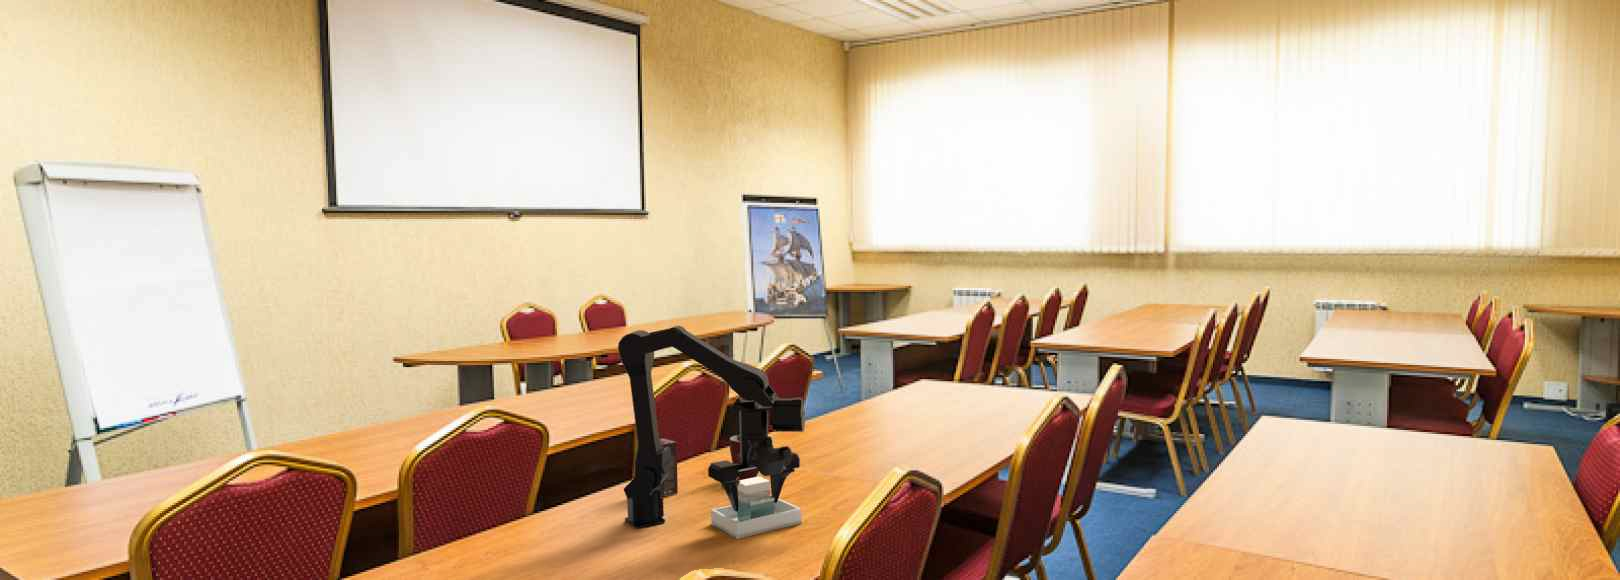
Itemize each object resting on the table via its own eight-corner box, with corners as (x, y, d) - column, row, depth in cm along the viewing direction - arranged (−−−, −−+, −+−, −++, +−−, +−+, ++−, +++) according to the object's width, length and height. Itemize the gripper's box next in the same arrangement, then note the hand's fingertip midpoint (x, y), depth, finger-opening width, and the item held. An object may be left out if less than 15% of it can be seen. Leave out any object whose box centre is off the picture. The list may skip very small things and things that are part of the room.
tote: (737, 538, 172) (736, 523, 172) (711, 523, 181) (710, 509, 181) (801, 523, 180) (801, 508, 180) (773, 509, 189) (773, 496, 189)
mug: (756, 487, 207) (755, 444, 206) (723, 485, 208) (722, 444, 207) (767, 474, 217) (766, 434, 216) (735, 473, 218) (734, 433, 218)
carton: (746, 508, 191) (745, 485, 191) (736, 503, 195) (735, 481, 195) (770, 503, 194) (769, 480, 194) (760, 498, 198) (759, 476, 198)
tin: (736, 519, 181) (736, 495, 181) (760, 514, 185) (760, 490, 184) (750, 527, 177) (750, 502, 176) (775, 521, 180) (774, 497, 180)
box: (679, 493, 203) (677, 441, 202) (662, 497, 200) (660, 444, 199) (666, 487, 208) (664, 437, 207) (648, 491, 205) (647, 440, 204)
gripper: (732, 445, 168) (734, 526, 169) (814, 431, 178) (815, 508, 179) (705, 435, 177) (708, 511, 178) (784, 422, 187) (786, 494, 188)
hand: (755, 506), depth 180 cm, fingers open, 9 cm apart
